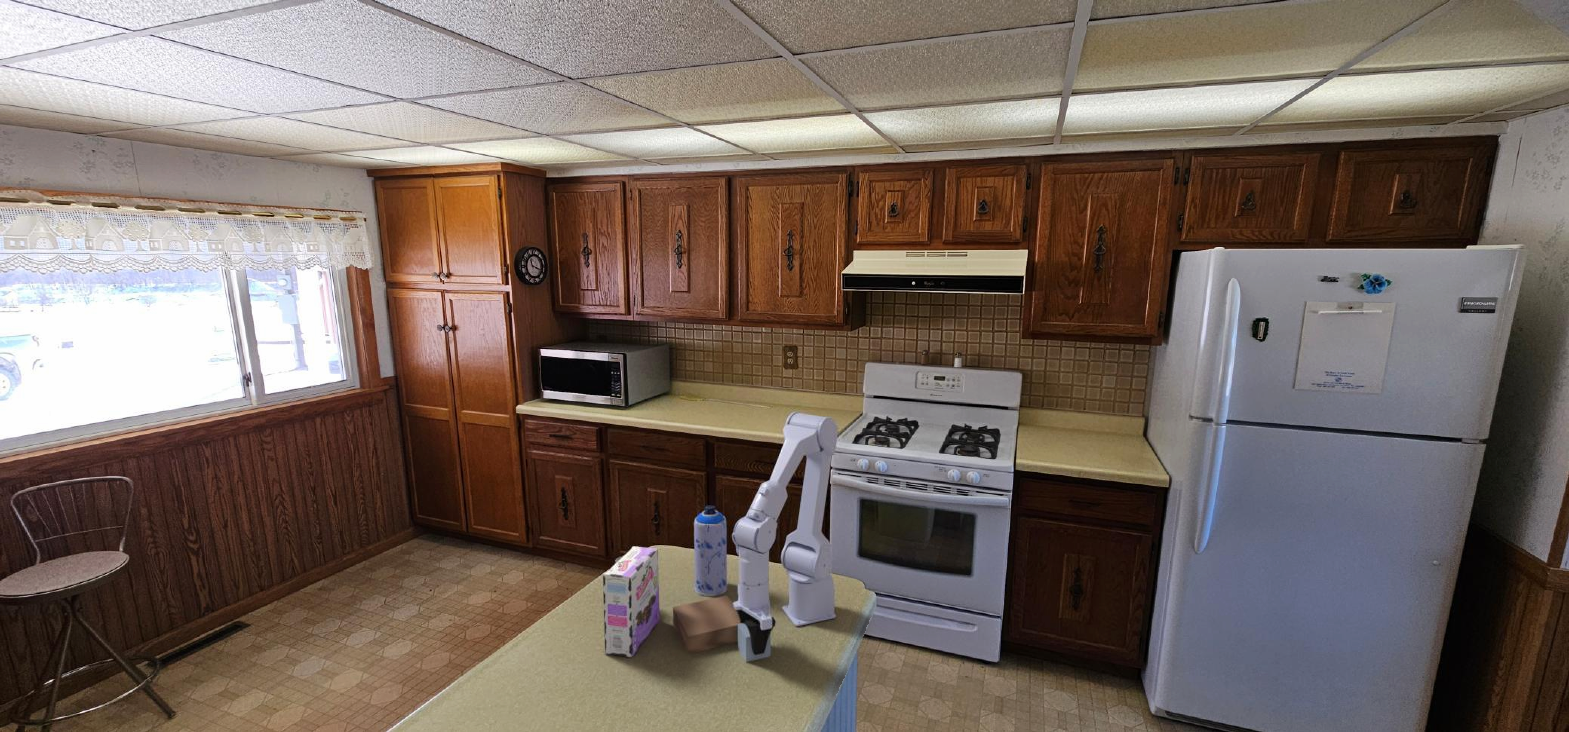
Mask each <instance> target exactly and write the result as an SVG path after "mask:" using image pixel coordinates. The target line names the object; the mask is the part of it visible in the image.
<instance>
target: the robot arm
mask: <svg viewBox="0 0 1569 732" xmlns="http://www.w3.org/2000/svg"><path fill="white" fill-rule="evenodd" d="M782 434H783V435H782V436H783V439H784V443H783V445H782V447H781V450H780V453H779V456H778V457H777V460H776V463H775V465H774V468H773V471H772V473H771V475H770V478H769V480H767V481H764V482H763V483H761V484H760V486H759V489H758V491H757V492H756V494H755V496H754V498H753V501H752V503H751V505H750V507H749V509H748V511H747V513H746V515H745V516H743V517H741V518H740V519H739V520H737V522H736V523H735V525H734V528H733V532H732V534H731V538H732V542H733V543H734V545H735V548H736V549H735V550H736V554H737V555H738V584H737V595H738V600H736V601H734V602H732V604H733V607H734V608H735V609H736V611H737V613H738V616H739V619H740V623H745V624H746V626H747V628H748V630H749V634H750V638H751V645H752V651H753V654H754V655H758V654H763V653H764V652H765V649H766V645H767V641H768V638H769V635H770V633H772V631H773V630H774V628H775V626H776V624H777V620H776V619H775V618H774V616H771V601H770V597H769V596H770V594H769V593H770V589H769V588H770V585H769V584H770V578H769V576H770V574H769V573H770V572H769V571H770V566H769V565H770V562H769V561H770V556H769V555H770V549H771V548H772V547H773V544H774V543H775V540H776V536H777V528H778V522H777V521H778V518H779V516H780V514H781V511H782V510H783V508H784V505H785V503H786V501H787V498H788V492H787V486H788V484H789V483H790V481H791V479H792V477H793V475H794V474H795V472H796V470H797V468H798V467H799V465H800V463H801V461H802V460H803V457H804V456H806V464H805V470H804V477H803V485H802V491H801V498H800V499H801V500H800V506H799V514H798V520H797V528H796V529H795V530H794V531H792V532H791V533H789V534H788V535H786V539H785V543H784V547H783V549H782V551H781V553H780V554H781V555H780V561H781V565H782V568H784V569H785V570H786V573H785V574H786V575H788V577H789V578H788V584H789V585H788V605H783V606H782V607H781V609H782V610H783V613H785V614H786V616H787V617H788V618H789V619H790V621H791V622H792V623H793V625H794V626H795V627H800V626H803V625H804V626H805V625H809V624H814V623H818V622H823V621H826V620H831V619H836V617H837V615H836V614H835V595H836V594H835V590H836V589H835V588H836V587H835V583H834V578H833V577H832V575H831V573H830V571H831V568H832V557H831V555H832V554H831V549H832V543H831V542H830V541H829V539H827V538H826V536H825V535H824V534H823V532H822V527H823V521H824V514H825V506H826V500H827V499H826V498H827V492H828V491H827V490H828V485H829V478H830V471H831V461H832V456H834V455H835V454H836V448H837V443H838V441H837V440H838V434H839V427H838V424H837V423H836V422H835V420H834V418H833V417H831V416H821V415H820V416H819V415H816V414H815V415H813V414H807V413H800V412H798V411H793V412H791V413H790V414H789V416H788V417H787V418H786V421H785V424H784V427H783V429H782Z"/></svg>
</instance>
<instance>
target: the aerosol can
mask: <svg viewBox="0 0 1569 732" xmlns="http://www.w3.org/2000/svg"><path fill="white" fill-rule="evenodd" d="M693 530H694V531H693V537H694V538H693V539H694V540H693V541H694V542H693V544H694V545H693V546H694V550H693V551H694V587H693V588H694V592H695V593H696V594H697V595H699V596H703V597H717V596H720V595H722V594H724V593H725V592H727V590H728V588H729V586H728V579H727V578H728V577H727V576H728V572H727V571H728V565H727V564H728V562H727V557H728V556H727V553H728V552H727V547H728V545H727V544H728V543H727V541H728V539H727V519H726V516H724V515H723V514H722V513H721V511H720V512H719V511H718V510H716V506H715V505H712V504H711V505H706V506H705V508H704V511H702V512H700V513H698V515H697V516H696V517H695V518H694V521H693Z"/></svg>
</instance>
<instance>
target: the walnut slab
mask: <svg viewBox="0 0 1569 732" xmlns="http://www.w3.org/2000/svg"><path fill="white" fill-rule="evenodd" d="M672 624H673V625H674V627H675V630H676V631H677V634H678V635H679V638H680V640H681V642H682V643H683V646H684V648H685V650H686V652H687V654H688V655H689V654H693V653H697V652H701V651H706V650H710V649H713V648H718V647H721V646H722V647H723V646H726V645H730V644H734V643H738V624H741V623H740V619H739V616H738V613H737V611H736V609H735V608H734V607H733V602H732V600H730V597H728V595H725V596H723V595H722V596H720V597H715V598H709V599H706V600H701V601H696V602H691V603H687V604H681V605H676V606H672Z"/></svg>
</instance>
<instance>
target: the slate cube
mask: <svg viewBox="0 0 1569 732" xmlns="http://www.w3.org/2000/svg"><path fill="white" fill-rule="evenodd" d="M771 633H772V632H771ZM771 633H770V635H769V638H768V641H767V645H766V649H765V652H764V653H763V654H758V655H754V654H753V651H752V645H751V638H750V634H749V630H748V628H747V626H746V624H745V623H741V624H738V642H737V649H738V650H739V652H740V655H741V656H742V658H743V660H744V661H745V663H749V662H754V661H757V660H760V659H761V660H762V659H766V658H769V657H771V653H772V649H771V647H772V646H771V644H772V643H771V641H772V640H771V637H772V636H771Z"/></svg>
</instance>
